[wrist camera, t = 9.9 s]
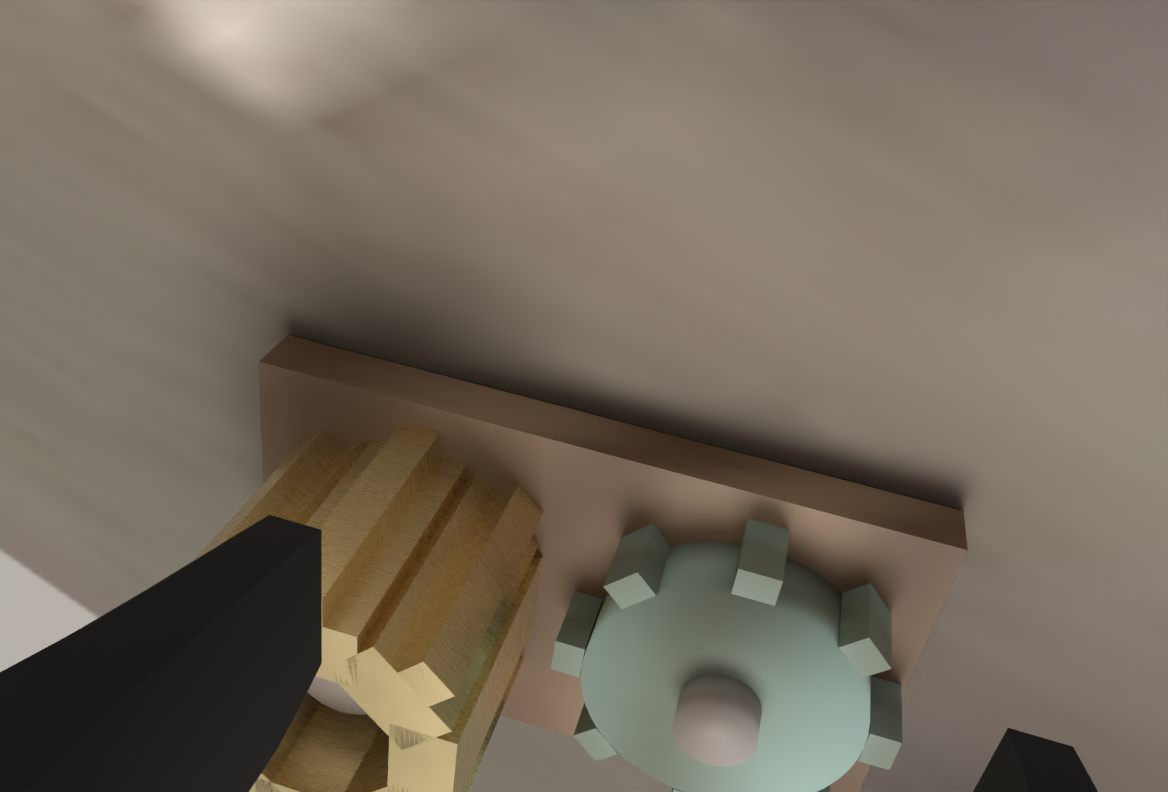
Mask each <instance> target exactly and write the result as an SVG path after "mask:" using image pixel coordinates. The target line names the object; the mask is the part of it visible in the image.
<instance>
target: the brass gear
mask: <svg viewBox="0 0 1168 792" xmlns="http://www.w3.org/2000/svg"><path fill="white" fill-rule="evenodd" d="M439 436H440V432H437V431H433V430H429V429H425V428H421V427H417V426H414V425H410V424H406V423H401V424H400V426H399V427H398V428H397V429H396V431H395V432H394V433H393V435H392V436H391V437H390V438H389V440H388V441H387V442H386V443H384V442H380V441H376V440H373V441H372V442H371V443H370V444H369V446H368V447H367V448H366V446H365V445H364V444H363V443H362V442H361V441H360V442H358V443H356V444H355V445H353V446H351V447H350V448H348V449H346V450H345V451H343V452H342V453H341V452H340V450H339V449H338V448H337V447H336V446H335V445H334V444H333V442H332V441H331V440H330V439H329V438H328V437H327V436H326V435H325V433H324V432H323V431H321V432H319V433H318V434H316V435H315V436H313V437H312V438H310V439H308V440H307V441H305V442H304V443H302V444H300V445H299V446H297V447H296V449H295V450H294V451H293V452H292V453H291V454H290V455H289V456H288V457H287V458H286V460H285V461H284V462H283V463H282V464H281V465H280V466H279V467H278V468H277V469H276V471H275V472H274V473H273V474H272V475H271V476H270V477H269V478H268V479H267V480H266V482H265V483H264V484H263V485H262V486H261V487H260V488H259V489H258V490H257V491H256V493H255V494H254V495H253V496H252V497H251V498H250V499H249V500H248V501H247V502H246V504H245V505H244V506H243V507H242V508H241V509H240V510H239V511H238V512H237V513H236V515H235V516H234V517H233V518H232V519H231V520H230V521H229V522H228V523H227V525H226V526H225V527H224V528H223V529H222V530H221V531H220V532H219V533H218V534H217V536H216V537H215V538H214V539H213V540H212V541H211V542H210V543H209V544H208V545H207V547H206V548H205V549H204V550H203V551H202V552H201V553H200V554H199V555H198V556H197V558H199V557H201V556H202V555H204V554H206V553H207V552H209V551H210V550H212V549H214V548H215V547H217V546H218V545H220V544H222V543H223V542H225V541H227V540H228V539H230V538H231V537H233V536H235V535H236V534H238V533H240V532H241V531H243V530H245V529H246V528H248V527H250V526H251V525H253V524H255V523H256V522H258V521H260V520H262V519H263V518H265V517H267V516H268V515H272V516H276V517H279V518H283V519H286V520H290V521H293V522H297V523H300V524H303V525H307V526H310V527H314V528H317V529H321V530H322V664H321V666H320V668H319V670H318V672H317V674H316V677H319V678H322V679H326V680H329V681H332V682H335V683H338V684H339V685H340V686H341V687H342V688H343V689H344V690H345V691H346V692H347V693H348V694H349V695H350V696H351V697H352V699H353V700H354V701H355V702H356V703H357V704H358V705H359V706H360V707H361V708H362V709H363V710H364V711H365V712H366V713H367V714H363V715H356V714H348V713H344V712H340V711H337V710H334V709H332V708H330V707H328V706H326V705H324V704H322V703H321V702H319V701H318V700H316V699H315V698H314V697H312V696H311V695H310V694H309V693H308V692H307V694H306V696H305V698H304V700H303V702H302V704H301V706H300V708H299V710H298V711H297V713H296V715H295V717H294V719H293V721H292V723H291V725H290V726H289V728H288V730H287V732H286V734H285V736H284V738H283V740H282V741H281V743H280V745H279V747H278V749H277V750H276V752H275V753H274V755H273V756H272V758H271V759H270V761H269V762H268V764H267V765H266V767H265V768H264V770H263V771H262V773H261V774H260V776H259V777H258V779H257V780H256V782H255V783H254V785H253V786H252V788H251V789H250V791H249V792H468V790H469V788H470V785H471V783H472V781H473V778H474V776H475V773H476V771H477V769H478V766H479V764H480V762H481V759H482V757H483V754H484V752H485V750H486V747H487V745H488V743H489V740H490V738H491V735H492V733H493V731H494V728H495V726H496V724H497V721H498V719H499V717H500V714H501V712H502V709H503V707H504V705H505V702H506V700H507V698H508V695H509V693H510V690H511V688H512V686H513V683H514V681H515V679H516V676H517V674H518V671H519V669H520V667H521V664H522V662H523V659H522V658H521V657H520V655H521V653H522V650H523V648H524V646H525V643H526V641H527V639H528V636H529V634H530V632H531V629H532V627H533V623H534V616H535V609H536V602H537V595H538V588H539V581H540V573H541V566H542V559H543V556H542V555H538V554H535V552H536V550H537V548H538V546H539V544H538V542H537V541H536V540H535V539H534V538H533V536H532V535H533V533H534V531H535V529H536V527H537V525H538V523H539V521H540V518H541V516H542V514H543V511H542V510H541V509H540V507H539V506H538V505H537V504H536V502H535V501H534V500H533V499H532V498H531V496H530V495H529V494H528V493H527V492H526V490H525V489H524V488H523V487H522V485H521V484H520V483H518V484H516V485H514V486H512V487H510V488H508V489H506V490H504V491H503V492H501V493H499V494H497V493H496V492H495V491H494V490H493V488H492V487H491V486H490V485H489V484H488V482H487V481H486V480H485V479H484V478H483V476H482V475H481V474H480V473H479V472H478V473H476V474H475V475H473V476H471V477H469V478H467V479H465V476H466V464H464V463H460V462H456V461H452V460H449V459H445V458H441V457H438V452H439ZM197 558H196V559H197ZM196 559H195V560H196Z"/></svg>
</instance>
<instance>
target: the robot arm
mask: <svg viewBox="0 0 1168 792" xmlns="http://www.w3.org/2000/svg"><path fill="white" fill-rule="evenodd" d="M321 664H322V530H321V529H317V528H314V527H310V526H307V525H303V524H300V523H297V522H293V521H290V520H286V519H283V518H279V517H276V516H272V515H268V516H267V517H265V518H263V519H262V520H260V521H258V522H256V523H255V524H253V525H251V526H250V527H248V528H246V529H245V530H243V531H241V532H240V533H238V534H236V535H235V536H233V537H231V538H230V539H228V540H227V541H225V542H223V543H222V544H220V545H218V546H217V547H215V548H214V549H212V550H210V551H209V552H207V553H206V554H204V555H202V556H201V557H199V558H197V559H196V560H194V561H193V562H191V563H189V564H188V565H186V566H185V567H183V568H181V569H180V570H178V571H176V572H175V573H173V574H171V575H170V576H168V577H167V578H165V579H163V580H162V581H160V582H158V583H157V584H155V585H154V586H152V587H150V588H149V589H147V590H145V591H144V592H142V593H140V594H139V595H137V596H135V597H133V598H132V599H130V600H128V601H127V602H125V603H123V604H122V605H120V606H118V607H116V608H115V609H113V610H111V611H110V612H108V613H106V614H105V615H103V616H101V617H100V618H98V619H96V620H94V621H93V622H91V623H89V624H88V625H86V626H84V627H83V628H81V629H79V630H77V631H76V632H74V633H72V634H70V635H69V636H67V637H65V638H63V639H61V640H60V641H58V642H56V643H54V644H52V645H50V646H48V647H47V648H45V649H43V650H41V651H39V652H37V653H35V654H34V655H32V656H30V657H28V658H26V659H24V660H22V661H21V662H19V663H17V664H15V665H13V666H11V667H9V668H8V669H6V670H4V671H2V672H0V792H249V791H250V789H251V788H252V786H253V785H254V783H255V782H256V780H257V779H258V777H259V776H260V774H261V773H262V771H263V770H264V768H265V767H266V765H267V764H268V762H269V761H270V759H271V758H272V756H273V755H274V753H275V752H276V750H277V749H278V747H279V745H280V743H281V741H282V740H283V738H284V736H285V734H286V732H287V730H288V728H289V726H290V725H291V723H292V721H293V719H294V717H295V715H296V713H297V711H298V710H299V708H300V706H301V704H302V702H303V700H304V698H305V696H306V694H307V692H308V690H309V688H310V686H311V684H312V682H313V680H314V678H315V676H316V674H317V672H318V670H319V668H320V666H321ZM973 792H1098V791H1097V789H1096V787H1095V786H1094V784H1093V782H1092V780H1091V778H1090V776H1089V775H1088V773H1087V771H1086V769H1085V767H1084V766H1083V764H1082V762H1081V760H1080V758H1079V757H1078V755H1077V753H1076V751H1075V750H1074V748H1073V747H1072V746H1069V745H1065V744H1062V743H1058V742H1055V741H1051V740H1048V739H1044V738H1041V737H1037V736H1034V735H1031V734H1027V733H1024V732H1020V731H1017V730H1013V729H1010V728H1008V729H1007V731H1006V733H1005V734H1004V736H1003V738H1002V740H1001V742H1000V744H999V745H998V747H997V749H996V751H995V753H994V755H993V756H992V758H991V760H990V762H989V764H988V766H987V767H986V769H985V771H984V773H983V775H982V777H981V778H980V780H979V782H978V784H977V786H976V788H975V789H974V791H973Z"/></svg>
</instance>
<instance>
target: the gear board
mask: <svg viewBox="0 0 1168 792" xmlns="http://www.w3.org/2000/svg"><path fill="white" fill-rule="evenodd" d="M259 374H260V400H261V426H262V452H263V478H264V483H265V482H266V480H267V479H268V478H269V477H270V476H271V475H272V474H273V473H274V472H275V471H276V469H277V468H278V467H279V466H280V465H281V464H282V463H283V462H284V461H285V460H286V458H287V457H288V456H289V455H290V454H291V453H292V452H293V451H294V450H295V449H296V447H297V446H299V445H300V444H302V443H304V442H305V441H307V440H308V439H310V438H312V437H313V436H315V435H316V434H318V433H319V432H321V431H323V432H324V433H325V435H326V436H327V437H328V438H329V439H330V440H331V441H332V442H333V444H334V445H335V446H336V447H337V448H338V449H339V450H340V452H341V453H342V452H343V451H345V450H346V449H348V448H350V447H351V446H353V445H355V444H356V443H358V442H360V441H361V442H362V443H363V444H364V445H365V446H366V448H367V447H368V446H369V444H370V443H371V442H372V441H373V440H376V441H380V442H384V443H386V442H387V441H388V440H389V438H390V437H391V436H392V435H393V433H394V432H395V431H396V429H397V428H398V427H399V426H400V424H401V423H406V424H410V425H414V426H417V427H421V428H425V429H429V430H433V431H437V432H440V436H439V452H438V457H441V458H445V459H449V460H452V461H456V462H460V463H464V464H466V476H465V479H467V478H469V477H471V476H473V475H475V474H476V473H478V472H479V473H480V474H481V475H482V476H483V478H484V479H485V480H486V481H487V482H488V484H489V485H490V486H491V487H492V488H493V490H494V491H495V492H496V493H497V494H499V493H501V492H503V491H504V490H506V489H508V488H510V487H512V486H514V485H516V484H518V483H520V484H521V485H522V487H523V488H524V489H525V490H526V492H527V493H528V494H529V495H530V496H531V498H532V499H533V500H534V501H535V502H536V504H537V505H538V506H539V507H540V509H541V510H542V511H543V514H542V516H541V518H540V521H539V523H538V525H537V527H536V529H535V531H534V533H533V535H532V536H533V538H534V539H535V540H536V541H537V542H538V544H539V546H538V548H537V550H536V552H535V554H538V555H542V556H543V559H542V566H541V573H540V581H539V588H538V595H537V602H536V609H535V616H534V623H533V627H532V629H531V632H530V634H529V636H528V639H527V641H526V643H525V646H524V648H523V650H522V653H521V655H520V657H521V658H522V659H523V662H522V664H521V667H520V669H519V671H518V674H517V676H516V679H515V681H514V683H513V686H512V688H511V690H510V693H509V695H508V698H507V700H506V702H505V705H504V707H503V709H502V712H501V714H500V715H503V716H507V717H510V718H513V719H516V720H520V721H523V722H526V723H529V724H533V725H536V726H539V727H542V728H546V729H549V730H552V731H555V732H559V733H562V734H565V735H568V736H572V737H575V738H576V739H577V740H578V742H579V743H580V744H581V745H582V746H583V747H584V749H585V750H586V751H587V752H588V753H589V754H590V755H591V757H592V758H593V759H594V760H595V761H597V760H601V759H604V758H607V757H610V756H613V755H617V754H618V753H619V754H620V755H621V756H622V757H624V758H625V759H626V760H627V761H628V762H629V763H631V764H632V765H633V766H635V767H636V768H638V769H639V770H641V771H642V772H644V773H645V774H647V775H649V776H650V777H652V778H654V779H656V780H658V781H659V782H661V783H664V784H666V785H668V786H670V787H672V792H859V790H860V788H861V786H862V783H863V781H864V779H865V777H866V774H867V772H868V770H869V768H870V766H871V765H873V766H876V767H880V768H883V769H887V770H890V768H891V766H892V764H893V762H894V760H895V757H896V755H897V753H898V751H899V749H900V747H901V745H902V699H901V697H902V695H903V692H904V690H905V688H906V686H907V683H908V681H909V679H910V677H911V675H912V672H913V670H914V668H915V666H916V664H917V661H918V659H919V657H920V655H921V652H922V650H923V648H924V646H925V644H926V641H927V639H928V637H929V635H930V632H931V630H932V628H933V626H934V624H935V621H936V619H937V617H938V615H939V612H940V610H941V608H942V606H943V604H944V601H945V599H946V597H947V595H948V592H949V590H950V588H951V586H952V584H953V581H954V579H955V577H956V575H957V573H958V570H959V568H960V566H961V564H962V561H963V559H964V557H965V555H966V553H967V540H966V531H965V521H964V512H963V511H961V510H957V509H953V508H949V507H945V506H942V505H938V504H934V503H930V502H926V501H922V500H919V499H915V498H911V497H907V496H903V495H899V494H896V493H892V492H888V491H884V490H880V489H876V488H873V487H869V486H865V485H861V484H857V483H853V482H850V481H846V480H842V479H838V478H834V477H831V476H827V475H823V474H819V473H815V472H811V471H808V470H804V469H800V468H796V467H792V466H788V465H785V464H781V463H777V462H773V461H769V460H765V459H762V458H758V457H754V456H750V455H746V454H742V453H739V452H735V451H731V450H727V449H723V448H719V447H716V446H712V445H708V444H704V443H700V442H696V441H693V440H689V439H685V438H681V437H677V436H673V435H670V434H666V433H662V432H658V431H654V430H650V429H647V428H643V427H639V426H635V425H631V424H627V423H624V422H620V421H616V420H612V419H608V418H604V417H601V416H597V415H593V414H589V413H585V412H581V411H578V410H574V409H570V408H566V407H562V406H558V405H555V404H551V403H547V402H543V401H539V400H535V399H532V398H528V397H524V396H520V395H516V394H512V393H509V392H505V391H501V390H497V389H493V388H489V387H486V386H482V385H478V384H474V383H470V382H466V381H463V380H459V379H455V378H451V377H447V376H443V375H440V374H436V373H432V372H428V371H424V370H420V369H417V368H413V367H409V366H405V365H401V364H397V363H394V362H390V361H386V360H382V359H378V358H374V357H371V356H367V355H363V354H359V353H355V352H352V351H348V350H344V349H340V348H336V347H332V346H329V345H325V344H321V343H317V342H313V341H309V340H306V339H302V338H298V337H294V336H290V335H288V336H287V337H286V338H285V339H284V340H283V341H281V342H280V343H279V344H278V345H277V346H276V347H275V348H274V349H272V350H271V351H270V352H269V353H268V354H267V355H266V356H265V357H264V358H262V359H261V360H260V361H259ZM308 693H309V694H310V695H311V696H312V697H314V698H315V699H316V700H318V701H319V702H321V703H322V704H324V705H326V706H328V707H330V708H332V709H334V710H337V711H340V712H344V713H348V714H356V715H363V714H367V713H366V712H365V711H364V710H363V709H362V708H361V707H360V706H359V705H358V704H357V703H356V702H355V701H354V700H353V699H352V697H351V696H350V695H349V694H348V693H347V692H346V691H345V690H344V689H343V688H342V687H341V686H340V685H339V684H338V683H335V682H332V681H329V680H326V679H322V678H319V677H316V676H315V678H314V680H313V682H312V684H311V686H310V688H309V690H308Z"/></svg>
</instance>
